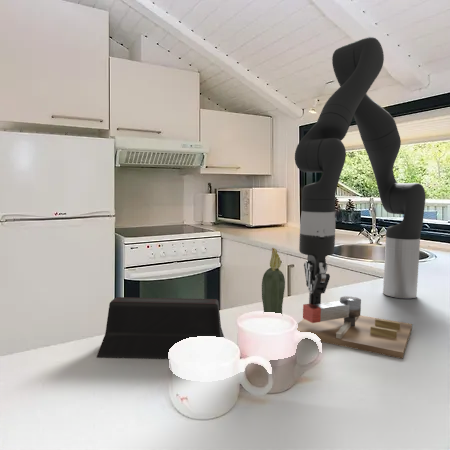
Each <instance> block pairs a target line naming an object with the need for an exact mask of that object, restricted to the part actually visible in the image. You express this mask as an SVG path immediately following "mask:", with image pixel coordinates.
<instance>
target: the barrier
mask: <svg viewBox="0 0 450 450" xmlns="http://www.w3.org/2000/svg"><path fill="white" fill-rule="evenodd" d="M219 304H220V303H219V300H218V299H217V298H215V299H214V298H181V297H180V298H173V297H171V298H170V297H123V296H121V297H120V296H118V297H115V298H113V299H112V300H111V301H110V302H109V305H108V312H107V318H106V319H107V320H106V325H105V333H104V335H103V339H102V342H101V345H100V347H99V349H98V352H97V355H96V358H97V359H98V358H99V359H102V358H103V359H128V360H129V359H132V360H133V359H136V360H139V359H141V360H169V359H168V352H169V349H170V348H171V347H172V346H173V345H174V344H175V343H177V342H179V341H181V340H183V339H186V338H189V337H197V336H216V337H224V338H225V335H224V332H223V329H222V324H221V313H220V305H219Z"/></svg>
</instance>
